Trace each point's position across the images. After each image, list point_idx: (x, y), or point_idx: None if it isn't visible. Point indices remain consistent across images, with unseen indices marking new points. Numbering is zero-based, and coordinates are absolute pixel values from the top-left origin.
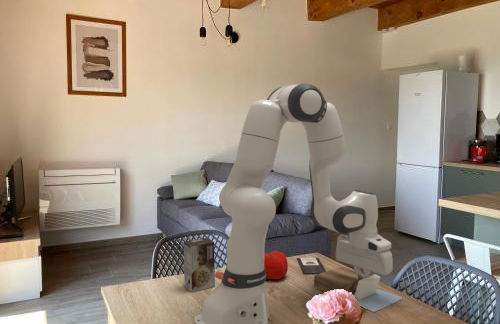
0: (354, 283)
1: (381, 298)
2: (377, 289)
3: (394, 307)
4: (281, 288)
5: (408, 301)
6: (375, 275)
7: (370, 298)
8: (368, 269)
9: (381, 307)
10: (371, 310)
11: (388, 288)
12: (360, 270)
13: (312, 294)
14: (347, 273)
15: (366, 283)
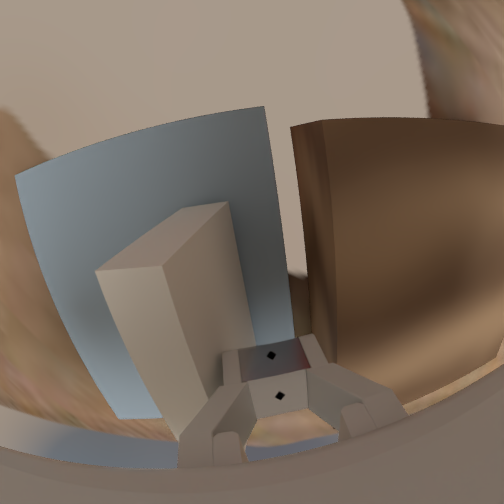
0: (329, 304)
1: None
2: None
3: (43, 322)
4: (498, 8)
5: (91, 410)
6: None
7: None
8: (112, 477)
9: (40, 256)
10: (28, 170)
11: None
12: (335, 426)
13: (415, 28)
14: (444, 349)
15: (116, 313)
